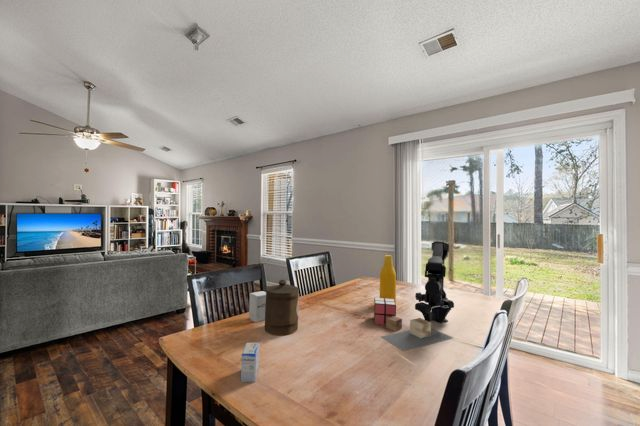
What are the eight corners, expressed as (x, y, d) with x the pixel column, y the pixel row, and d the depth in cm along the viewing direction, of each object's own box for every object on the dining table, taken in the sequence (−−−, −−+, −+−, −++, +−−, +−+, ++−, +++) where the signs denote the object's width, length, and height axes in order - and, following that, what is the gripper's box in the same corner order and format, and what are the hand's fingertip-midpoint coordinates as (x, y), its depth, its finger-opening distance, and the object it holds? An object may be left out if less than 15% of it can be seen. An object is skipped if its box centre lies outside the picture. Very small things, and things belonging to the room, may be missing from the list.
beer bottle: (383, 302, 169) (383, 254, 170) (398, 305, 164) (398, 255, 164) (376, 305, 162) (377, 255, 162) (392, 309, 156) (392, 257, 157)
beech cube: (420, 331, 125) (420, 317, 125) (430, 336, 120) (431, 322, 120) (409, 333, 123) (410, 319, 123) (420, 339, 117) (420, 324, 117)
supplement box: (255, 322, 133) (256, 296, 133) (248, 318, 138) (249, 292, 139) (269, 319, 138) (270, 293, 138) (261, 315, 143) (262, 290, 143)
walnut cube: (392, 326, 132) (392, 315, 132) (401, 329, 128) (401, 318, 128) (386, 328, 129) (386, 317, 129) (395, 332, 125) (395, 321, 125)
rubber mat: (427, 327, 132) (427, 326, 132) (453, 338, 119) (453, 337, 119) (380, 337, 119) (380, 336, 119) (403, 352, 106) (403, 351, 106)
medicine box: (245, 368, 93) (245, 342, 93) (258, 368, 93) (259, 342, 94) (240, 382, 85) (241, 353, 85) (255, 382, 86) (256, 353, 86)
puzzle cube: (395, 326, 132) (396, 304, 132) (374, 324, 134) (374, 303, 134) (394, 318, 142) (394, 298, 142) (373, 317, 144) (374, 297, 144)
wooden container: (304, 328, 127) (305, 280, 127) (278, 339, 116) (279, 285, 116) (283, 320, 137) (284, 275, 137) (257, 328, 126) (259, 279, 126)
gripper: (434, 283, 137) (434, 315, 137) (406, 287, 128) (405, 321, 128) (455, 289, 127) (454, 323, 127) (425, 293, 118) (424, 330, 118)
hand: (434, 324), depth 125 cm, fingers open, 8 cm apart
